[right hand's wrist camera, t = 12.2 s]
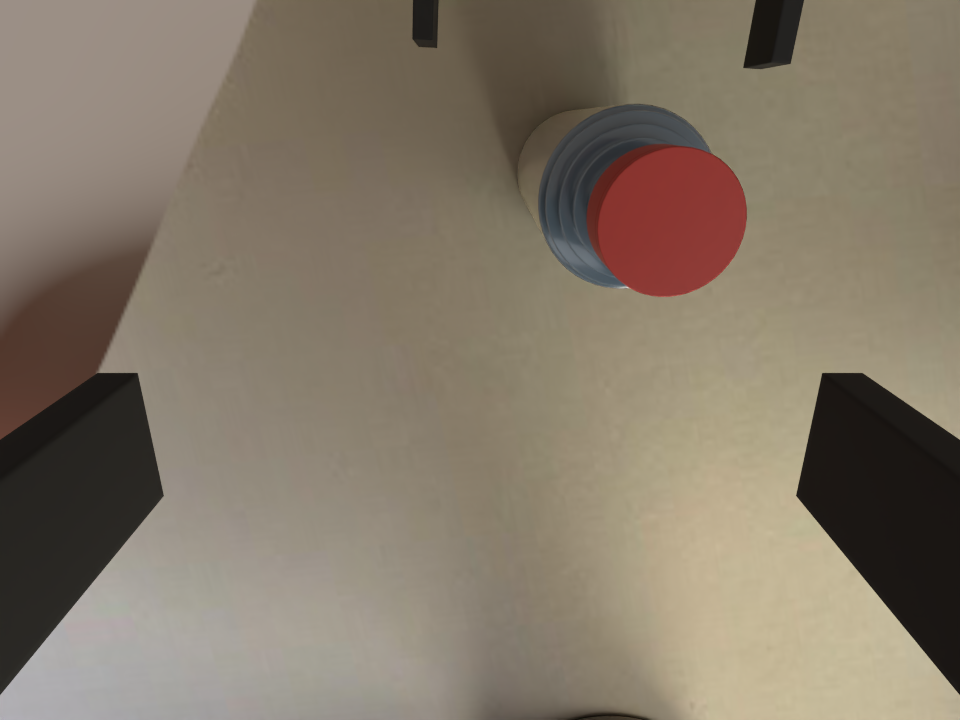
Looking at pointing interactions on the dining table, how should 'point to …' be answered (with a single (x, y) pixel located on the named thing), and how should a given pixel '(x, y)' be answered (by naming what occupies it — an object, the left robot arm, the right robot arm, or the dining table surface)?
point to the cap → (666, 218)
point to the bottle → (587, 172)
